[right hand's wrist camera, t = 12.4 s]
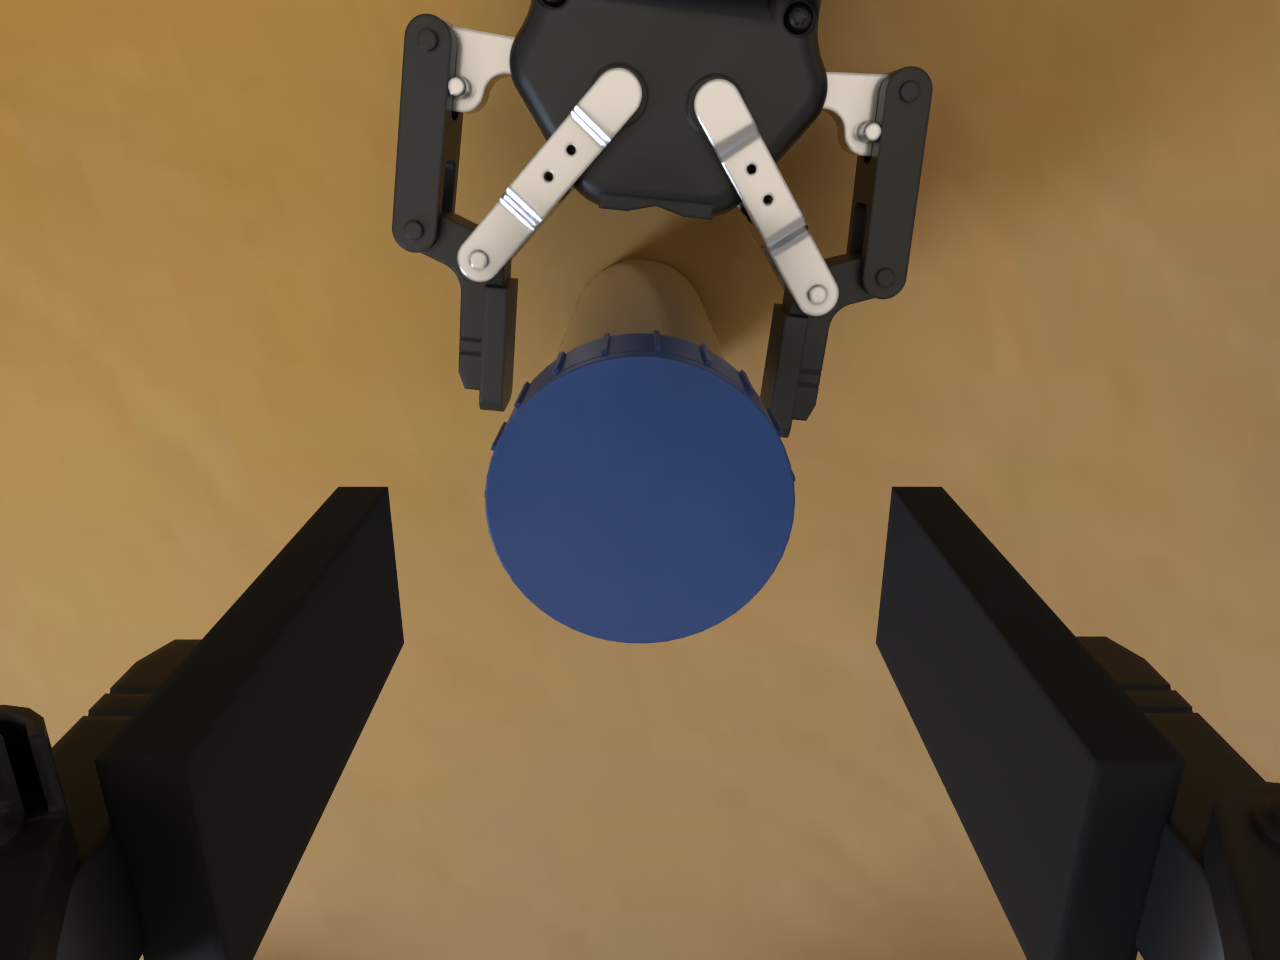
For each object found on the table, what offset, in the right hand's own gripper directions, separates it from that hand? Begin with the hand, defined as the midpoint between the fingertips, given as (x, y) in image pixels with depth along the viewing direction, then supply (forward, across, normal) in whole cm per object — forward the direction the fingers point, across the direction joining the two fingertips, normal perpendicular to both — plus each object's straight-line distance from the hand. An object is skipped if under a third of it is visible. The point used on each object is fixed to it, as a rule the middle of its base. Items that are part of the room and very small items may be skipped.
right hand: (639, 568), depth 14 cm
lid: (+3, 0, 0) cm, 3 cm away
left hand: (+14, 0, -2) cm, 14 cm away
